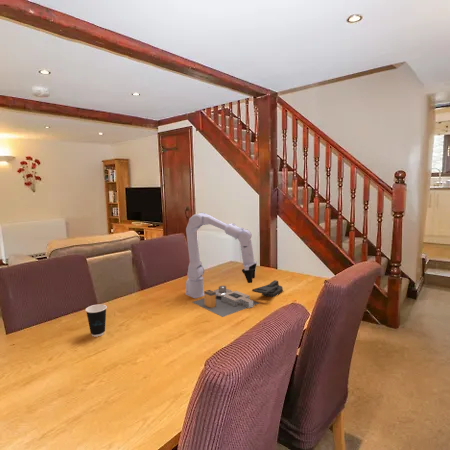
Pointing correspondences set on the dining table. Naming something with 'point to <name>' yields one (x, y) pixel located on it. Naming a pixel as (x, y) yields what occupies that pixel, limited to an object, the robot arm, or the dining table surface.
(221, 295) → the scaffold node
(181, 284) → the dining table surface
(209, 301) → the orange grey two-tone block
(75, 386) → the dining table surface
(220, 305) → the site mat
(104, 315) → the dixie cup
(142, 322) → the dining table surface
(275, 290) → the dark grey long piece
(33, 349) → the dining table surface
